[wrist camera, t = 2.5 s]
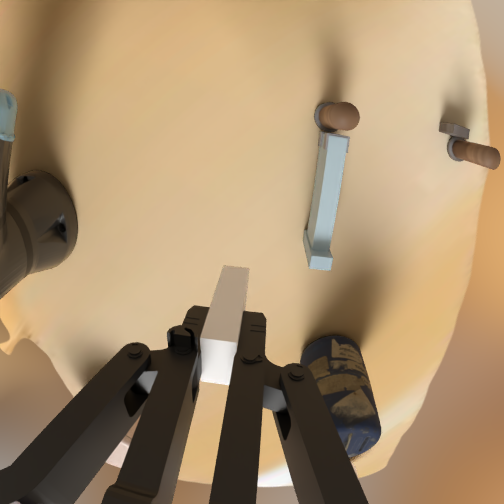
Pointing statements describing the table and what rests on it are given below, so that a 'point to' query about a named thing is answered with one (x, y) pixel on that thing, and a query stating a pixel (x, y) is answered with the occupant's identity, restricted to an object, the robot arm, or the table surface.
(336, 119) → the gateposts
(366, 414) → the canister
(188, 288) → the table surface
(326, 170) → the gate
